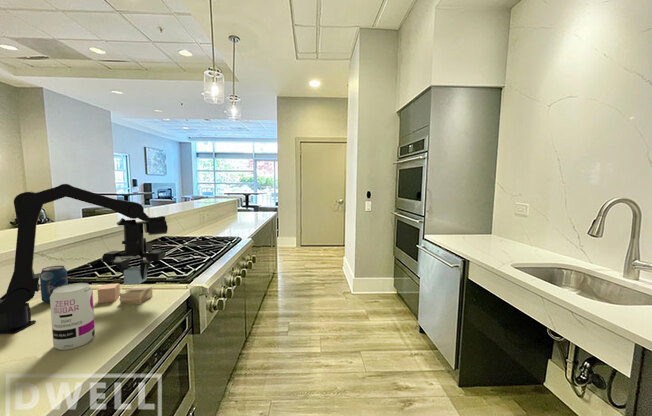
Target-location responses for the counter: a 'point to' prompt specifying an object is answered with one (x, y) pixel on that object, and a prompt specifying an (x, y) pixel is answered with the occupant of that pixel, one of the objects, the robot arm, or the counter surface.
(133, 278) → the slate cube
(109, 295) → the terracotta cube
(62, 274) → the soda can
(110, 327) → the counter surface
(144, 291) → the oak block
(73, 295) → the supplement can
